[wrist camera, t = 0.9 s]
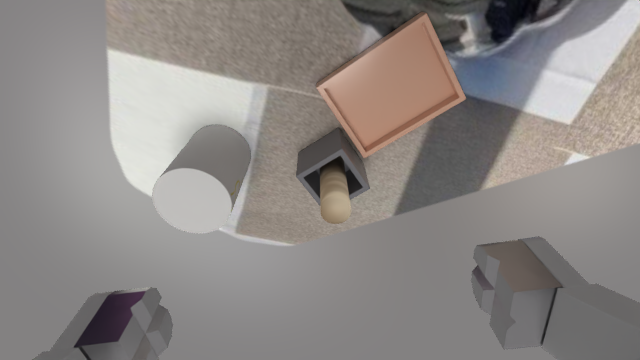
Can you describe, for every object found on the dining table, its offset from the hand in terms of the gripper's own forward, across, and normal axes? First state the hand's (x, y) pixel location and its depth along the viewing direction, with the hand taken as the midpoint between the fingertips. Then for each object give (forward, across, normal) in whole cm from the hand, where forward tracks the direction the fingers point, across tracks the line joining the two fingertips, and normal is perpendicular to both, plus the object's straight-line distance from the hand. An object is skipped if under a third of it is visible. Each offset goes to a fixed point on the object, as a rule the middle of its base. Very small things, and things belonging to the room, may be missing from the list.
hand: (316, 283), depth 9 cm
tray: (+36, -9, +5) cm, 37 cm away
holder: (+36, -1, +13) cm, 38 cm away
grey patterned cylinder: (+36, +14, +10) cm, 40 cm away
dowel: (+35, -1, +13) cm, 38 cm away
